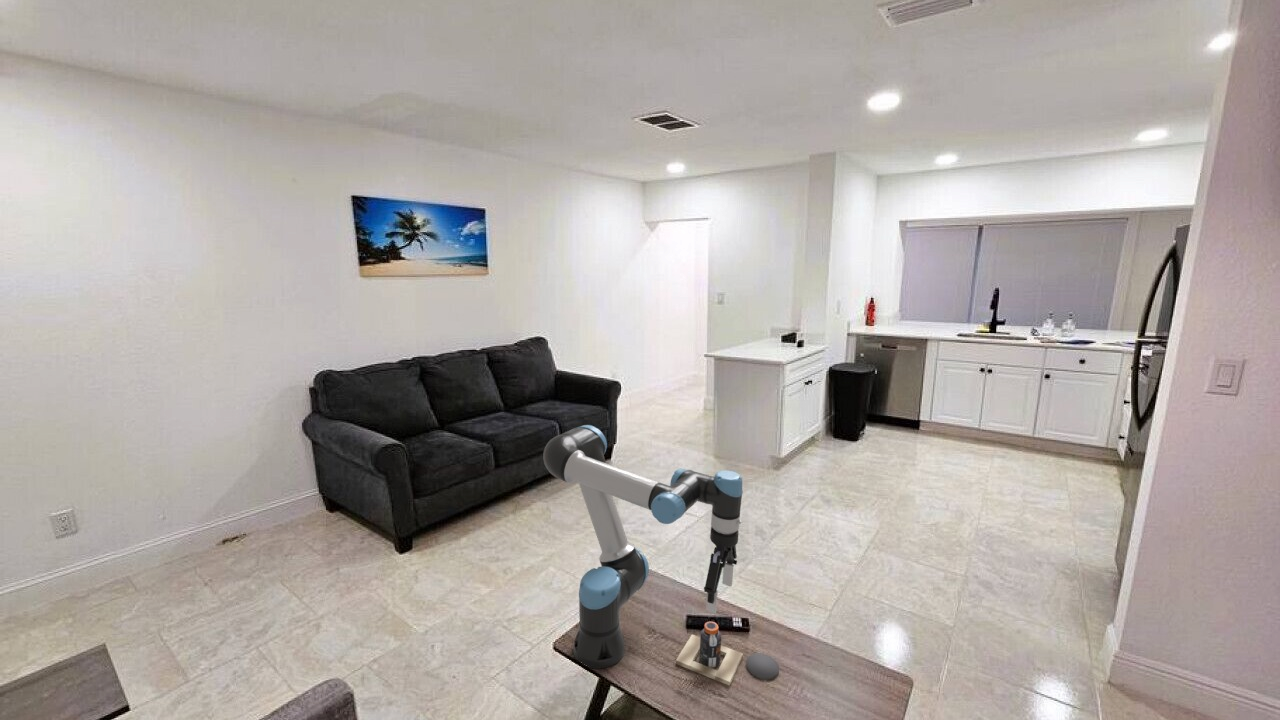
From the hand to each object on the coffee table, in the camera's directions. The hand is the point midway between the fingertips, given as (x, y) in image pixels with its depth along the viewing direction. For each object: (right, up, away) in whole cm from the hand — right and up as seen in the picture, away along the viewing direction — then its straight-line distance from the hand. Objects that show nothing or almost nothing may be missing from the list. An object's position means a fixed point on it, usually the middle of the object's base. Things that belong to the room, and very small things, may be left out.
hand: (719, 597), depth 145 cm
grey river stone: (+13, -21, +2) cm, 24 cm away
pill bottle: (-2, -20, +4) cm, 21 cm away
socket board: (-2, -20, +4) cm, 21 cm away
